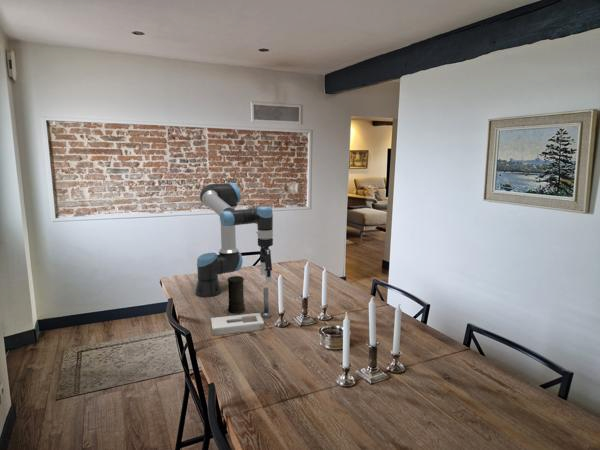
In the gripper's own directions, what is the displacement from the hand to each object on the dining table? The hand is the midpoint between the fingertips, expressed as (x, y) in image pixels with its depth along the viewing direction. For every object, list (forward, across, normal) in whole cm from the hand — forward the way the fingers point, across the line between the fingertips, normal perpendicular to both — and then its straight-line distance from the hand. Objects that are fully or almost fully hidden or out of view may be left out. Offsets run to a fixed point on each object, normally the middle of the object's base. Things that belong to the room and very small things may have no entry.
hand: (265, 278), depth 199 cm
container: (+20, -11, -14) cm, 27 cm away
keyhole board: (+20, +9, -16) cm, 27 cm away
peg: (+20, 0, 0) cm, 20 cm away
